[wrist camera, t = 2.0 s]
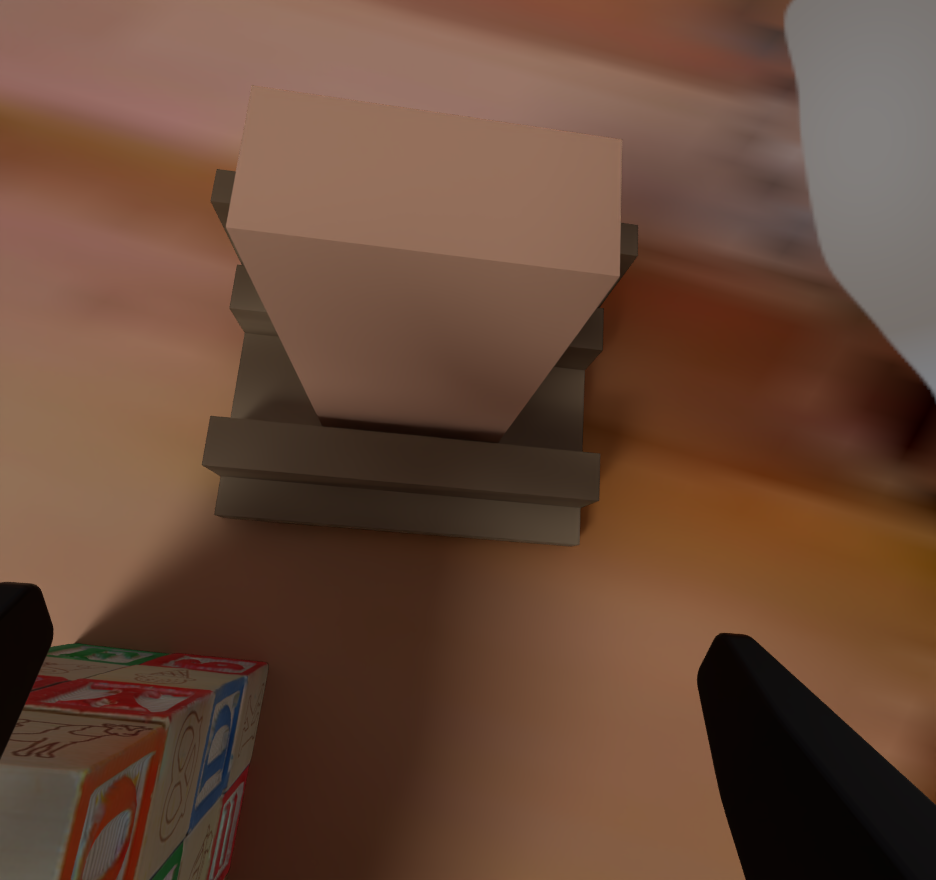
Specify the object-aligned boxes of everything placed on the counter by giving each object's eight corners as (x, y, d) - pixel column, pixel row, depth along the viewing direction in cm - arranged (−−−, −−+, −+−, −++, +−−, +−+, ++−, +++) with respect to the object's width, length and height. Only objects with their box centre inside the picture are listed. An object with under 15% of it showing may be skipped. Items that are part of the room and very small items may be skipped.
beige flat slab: (497, 443, 21) (620, 276, 10) (322, 425, 21) (225, 226, 9) (502, 374, 22) (622, 139, 10) (331, 356, 21) (251, 85, 10)
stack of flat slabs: (571, 546, 22) (634, 534, 16) (222, 517, 21) (154, 493, 15) (579, 311, 24) (637, 225, 18) (262, 274, 23) (216, 169, 17)
